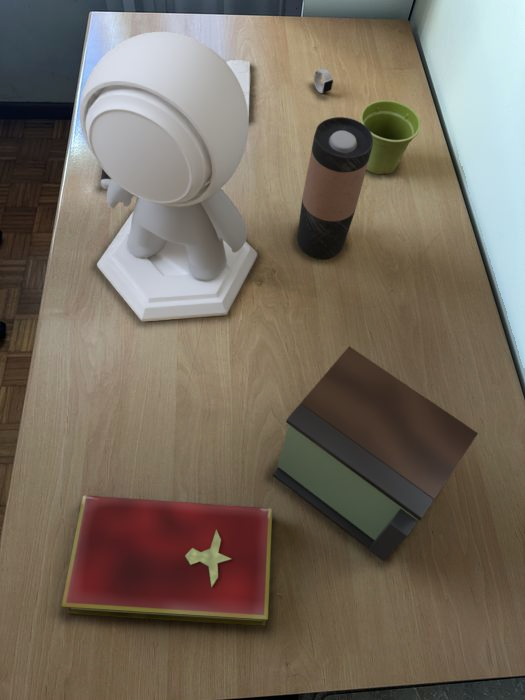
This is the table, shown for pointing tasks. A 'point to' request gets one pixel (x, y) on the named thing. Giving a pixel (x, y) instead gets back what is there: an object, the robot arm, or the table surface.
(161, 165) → the white cartoon figure
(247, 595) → the hardcover book
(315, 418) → the closet
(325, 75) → the smartwatch
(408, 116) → the plant pot
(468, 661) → the table surface
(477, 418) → the table surface
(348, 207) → the travel mug
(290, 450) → the closet door
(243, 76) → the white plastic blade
